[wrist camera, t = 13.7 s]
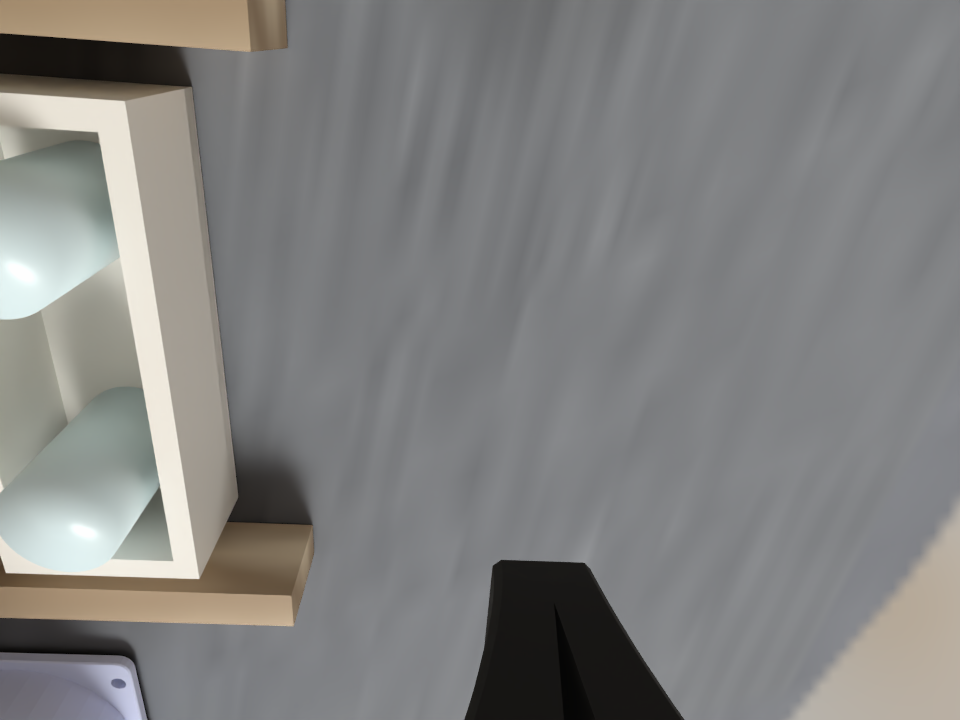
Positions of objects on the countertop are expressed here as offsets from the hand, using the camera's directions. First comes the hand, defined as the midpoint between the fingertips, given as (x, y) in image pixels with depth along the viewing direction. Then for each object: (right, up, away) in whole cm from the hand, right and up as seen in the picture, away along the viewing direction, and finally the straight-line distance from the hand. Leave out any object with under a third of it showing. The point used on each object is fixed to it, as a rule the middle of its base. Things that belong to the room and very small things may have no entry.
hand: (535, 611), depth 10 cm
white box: (-10, +5, +8) cm, 14 cm away
